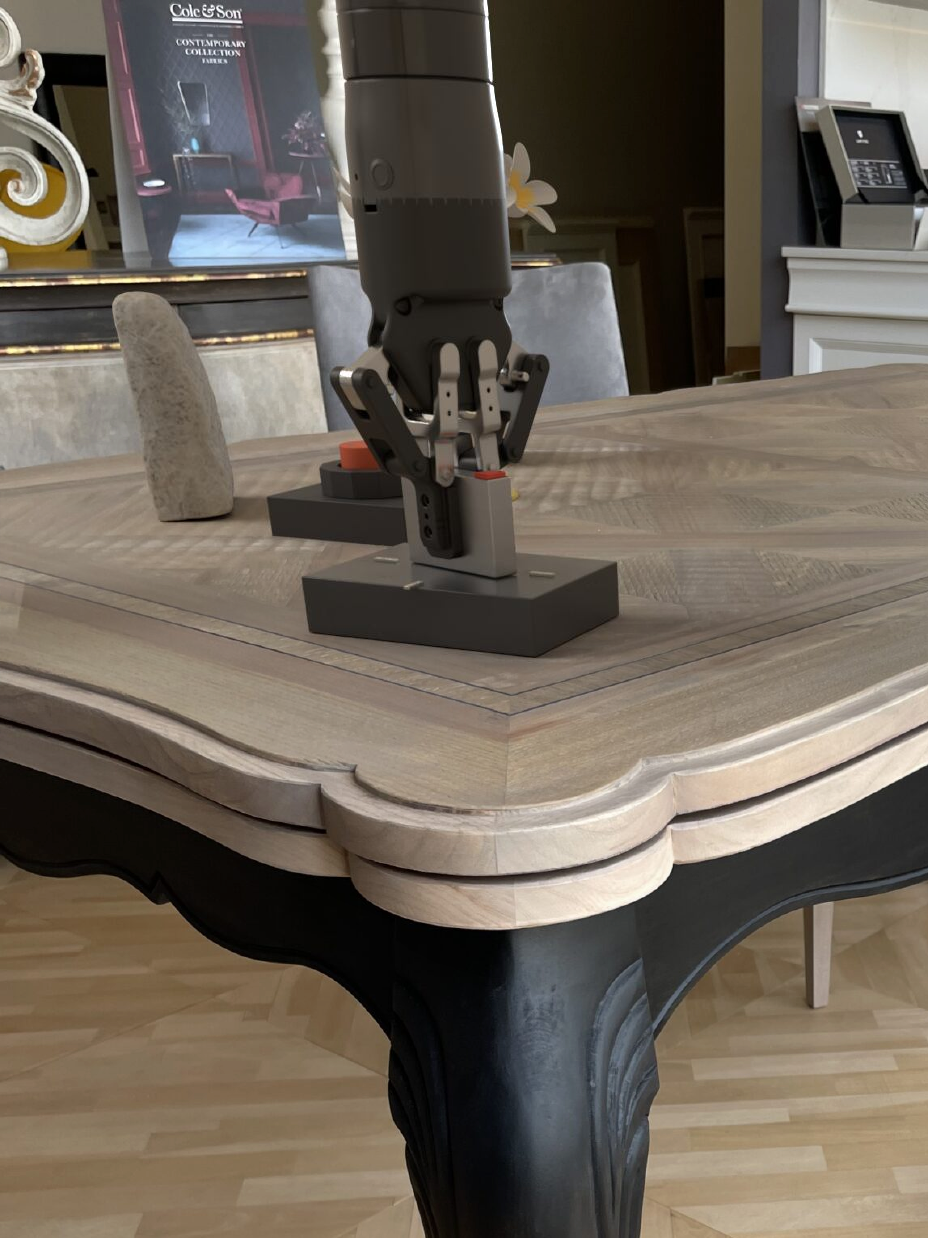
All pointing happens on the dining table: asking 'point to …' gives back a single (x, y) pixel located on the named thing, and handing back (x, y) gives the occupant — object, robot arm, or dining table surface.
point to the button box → (343, 508)
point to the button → (356, 456)
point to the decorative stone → (173, 411)
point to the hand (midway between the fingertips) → (461, 552)
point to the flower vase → (517, 198)
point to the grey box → (472, 525)
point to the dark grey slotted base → (462, 602)
